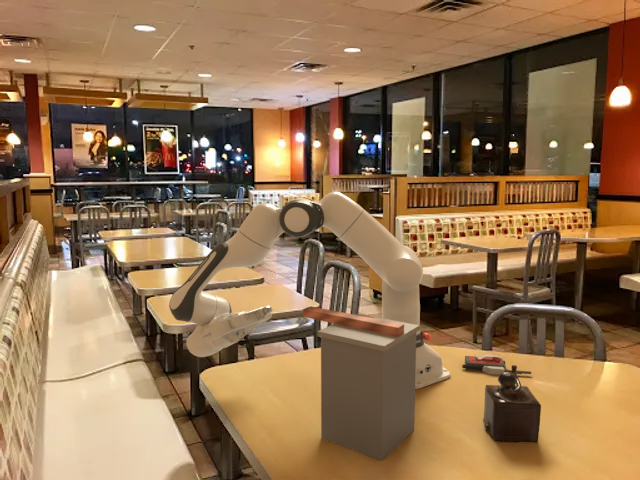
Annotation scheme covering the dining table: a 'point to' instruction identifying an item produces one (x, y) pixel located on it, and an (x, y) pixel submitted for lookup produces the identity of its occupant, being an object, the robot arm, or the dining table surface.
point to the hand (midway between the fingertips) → (258, 312)
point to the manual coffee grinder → (511, 410)
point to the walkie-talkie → (488, 364)
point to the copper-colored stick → (354, 321)
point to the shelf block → (367, 387)
